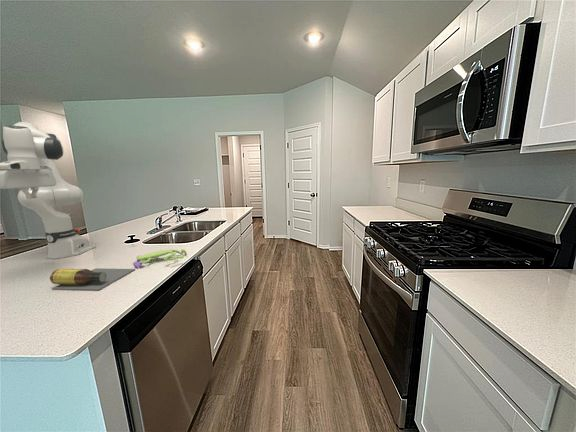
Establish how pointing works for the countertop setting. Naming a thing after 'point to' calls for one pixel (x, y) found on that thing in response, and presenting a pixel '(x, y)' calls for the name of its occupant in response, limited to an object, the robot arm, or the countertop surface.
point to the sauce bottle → (76, 276)
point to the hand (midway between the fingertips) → (31, 198)
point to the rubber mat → (97, 286)
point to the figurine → (157, 254)
